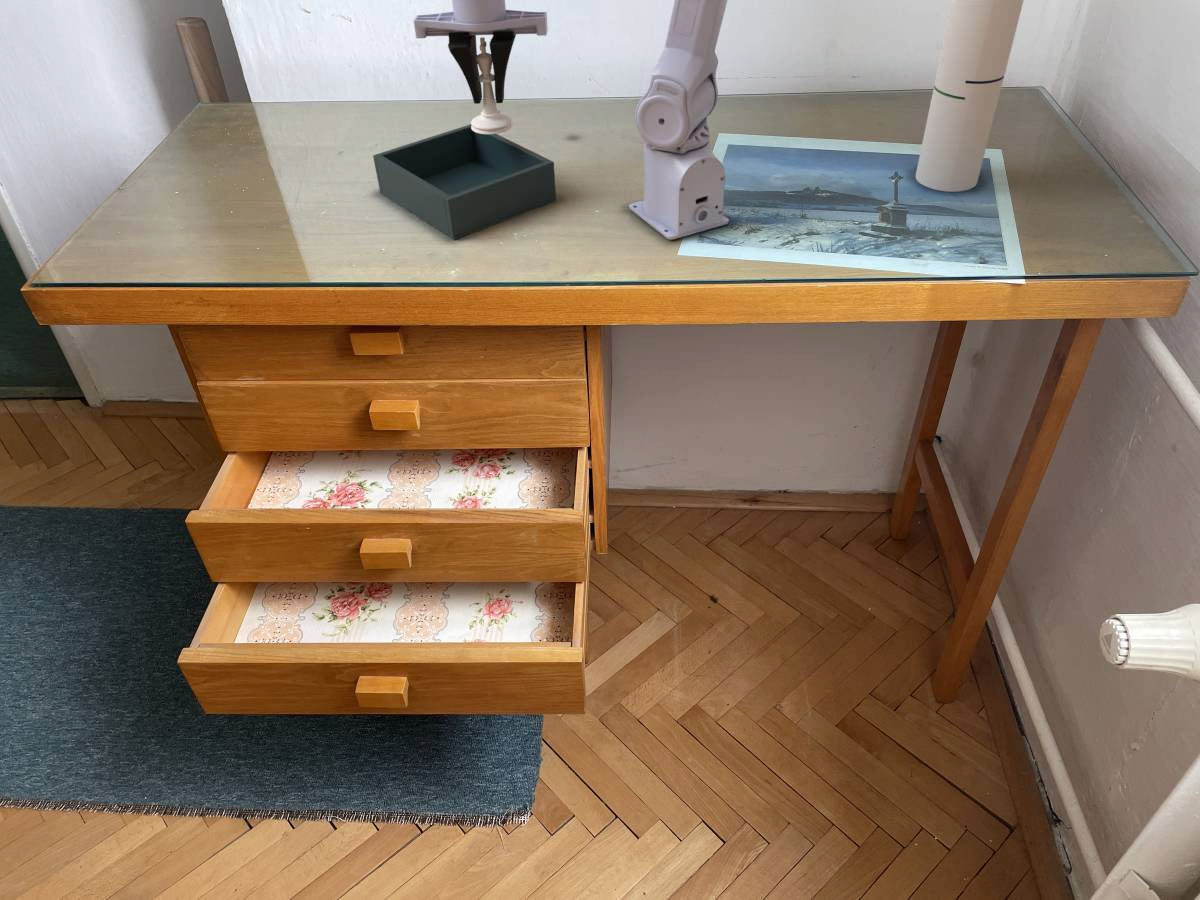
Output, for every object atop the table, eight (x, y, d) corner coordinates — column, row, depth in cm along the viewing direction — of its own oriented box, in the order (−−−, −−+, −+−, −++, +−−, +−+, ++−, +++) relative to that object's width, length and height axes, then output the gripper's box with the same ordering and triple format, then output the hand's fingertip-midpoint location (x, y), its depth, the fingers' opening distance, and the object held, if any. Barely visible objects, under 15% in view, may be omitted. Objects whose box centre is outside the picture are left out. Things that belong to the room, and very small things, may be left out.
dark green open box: (556, 200, 109) (554, 161, 106) (453, 240, 102) (447, 200, 99) (478, 159, 119) (474, 122, 116) (379, 193, 112) (372, 155, 109)
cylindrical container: (980, 193, 107) (1041, -43, 91) (917, 189, 109) (966, -44, 92) (973, 168, 113) (1030, -59, 96) (913, 165, 114) (960, -60, 98)
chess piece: (515, 118, 110) (507, 31, 103) (508, 134, 106) (500, 44, 100) (475, 118, 110) (465, 31, 104) (467, 134, 107) (455, 45, 100)
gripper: (545, -39, 100) (553, 87, 109) (415, -36, 101) (433, 89, 110) (540, -23, 95) (549, 108, 104) (402, -19, 95) (423, 111, 104)
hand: (489, 100), depth 106 cm, fingers closed on chess piece
